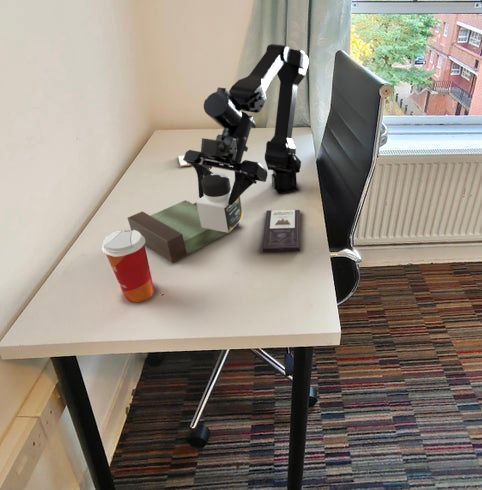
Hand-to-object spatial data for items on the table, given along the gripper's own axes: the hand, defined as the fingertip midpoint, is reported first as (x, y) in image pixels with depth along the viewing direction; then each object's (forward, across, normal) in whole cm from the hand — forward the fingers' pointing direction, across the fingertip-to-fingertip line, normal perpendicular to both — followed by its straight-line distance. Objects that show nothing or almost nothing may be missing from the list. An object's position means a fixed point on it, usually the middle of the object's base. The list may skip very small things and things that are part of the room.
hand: (215, 201), depth 99 cm
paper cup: (+24, -7, -5) cm, 25 cm away
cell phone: (-20, -34, +40) cm, 56 cm away
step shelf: (+7, -12, +12) cm, 18 cm away
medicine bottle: (+4, 0, +6) cm, 7 cm away
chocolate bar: (+1, +10, +18) cm, 21 cm away
